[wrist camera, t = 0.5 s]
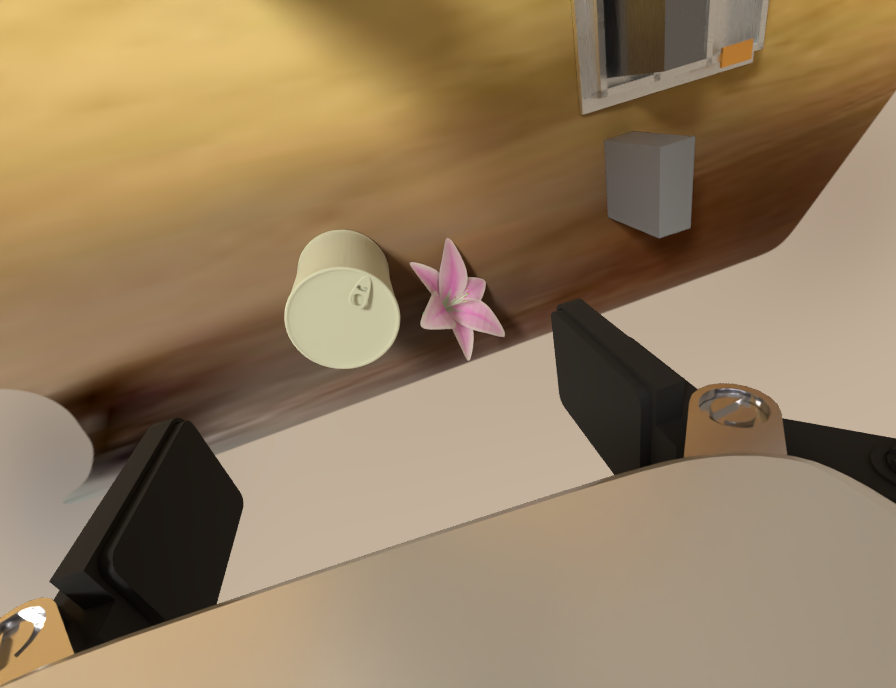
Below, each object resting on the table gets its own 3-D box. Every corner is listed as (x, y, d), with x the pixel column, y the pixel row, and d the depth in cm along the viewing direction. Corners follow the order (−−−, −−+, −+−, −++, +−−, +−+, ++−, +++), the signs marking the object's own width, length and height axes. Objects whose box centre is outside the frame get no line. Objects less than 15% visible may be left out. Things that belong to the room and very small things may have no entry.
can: (404, 255, 44) (421, 299, 34) (365, 326, 47) (371, 387, 37) (320, 212, 41) (311, 247, 30) (283, 292, 44) (264, 349, 33)
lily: (490, 327, 52) (540, 326, 44) (411, 376, 48) (449, 385, 39) (449, 236, 49) (494, 215, 41) (361, 278, 45) (391, 265, 36)
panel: (603, 140, 43) (660, 147, 35) (633, 131, 43) (695, 136, 36) (608, 217, 47) (658, 238, 40) (634, 208, 47) (690, 228, 40)
